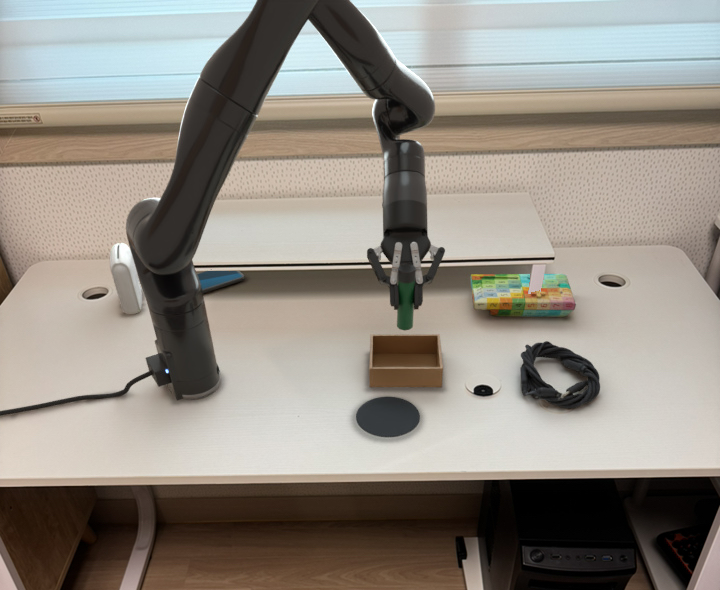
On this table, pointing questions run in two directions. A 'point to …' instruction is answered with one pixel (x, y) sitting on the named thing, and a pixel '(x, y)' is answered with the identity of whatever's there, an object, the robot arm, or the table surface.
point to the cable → (569, 360)
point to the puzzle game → (522, 295)
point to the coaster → (388, 417)
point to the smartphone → (218, 279)
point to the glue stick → (406, 296)
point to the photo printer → (125, 278)
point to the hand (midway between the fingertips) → (406, 308)
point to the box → (405, 360)
